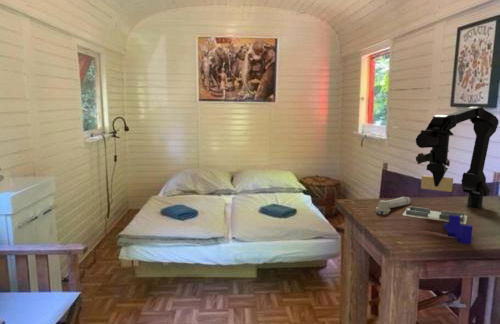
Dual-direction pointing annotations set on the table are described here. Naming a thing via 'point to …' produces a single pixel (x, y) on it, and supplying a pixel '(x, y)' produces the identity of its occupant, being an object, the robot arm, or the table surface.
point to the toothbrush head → (391, 204)
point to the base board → (434, 216)
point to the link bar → (444, 185)
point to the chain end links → (425, 211)
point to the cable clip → (458, 230)
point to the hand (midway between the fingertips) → (436, 185)
